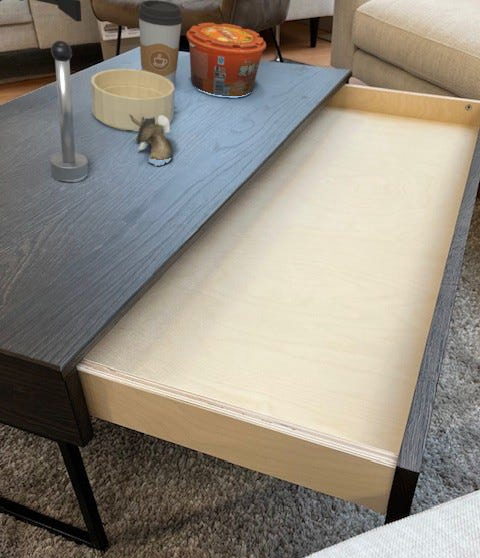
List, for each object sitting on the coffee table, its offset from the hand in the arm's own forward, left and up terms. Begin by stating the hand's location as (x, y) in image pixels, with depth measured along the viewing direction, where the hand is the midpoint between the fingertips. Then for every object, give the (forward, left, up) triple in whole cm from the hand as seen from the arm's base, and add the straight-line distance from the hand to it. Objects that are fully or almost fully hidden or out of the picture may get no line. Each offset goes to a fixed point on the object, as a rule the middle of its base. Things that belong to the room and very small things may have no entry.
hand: (31, 13), depth 85 cm
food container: (+21, +41, -20) cm, 50 cm away
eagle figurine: (+16, +5, -20) cm, 26 cm away
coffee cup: (+9, +35, -20) cm, 41 cm away
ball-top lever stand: (+7, -7, -20) cm, 22 cm away
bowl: (+9, +18, -20) cm, 28 cm away
